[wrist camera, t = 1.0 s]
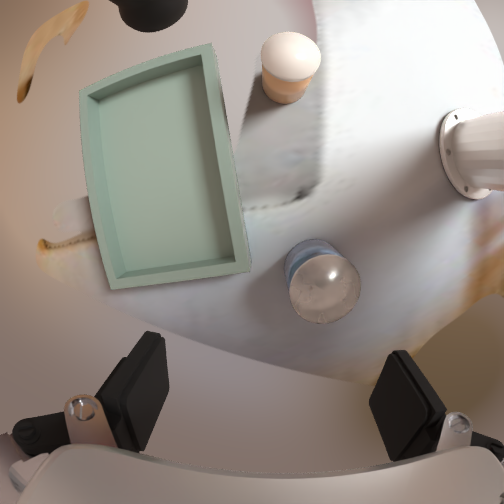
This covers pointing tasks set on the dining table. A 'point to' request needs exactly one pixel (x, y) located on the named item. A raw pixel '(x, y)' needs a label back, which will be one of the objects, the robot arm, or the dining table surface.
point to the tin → (321, 282)
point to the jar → (288, 66)
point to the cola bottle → (151, 13)
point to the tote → (163, 172)
